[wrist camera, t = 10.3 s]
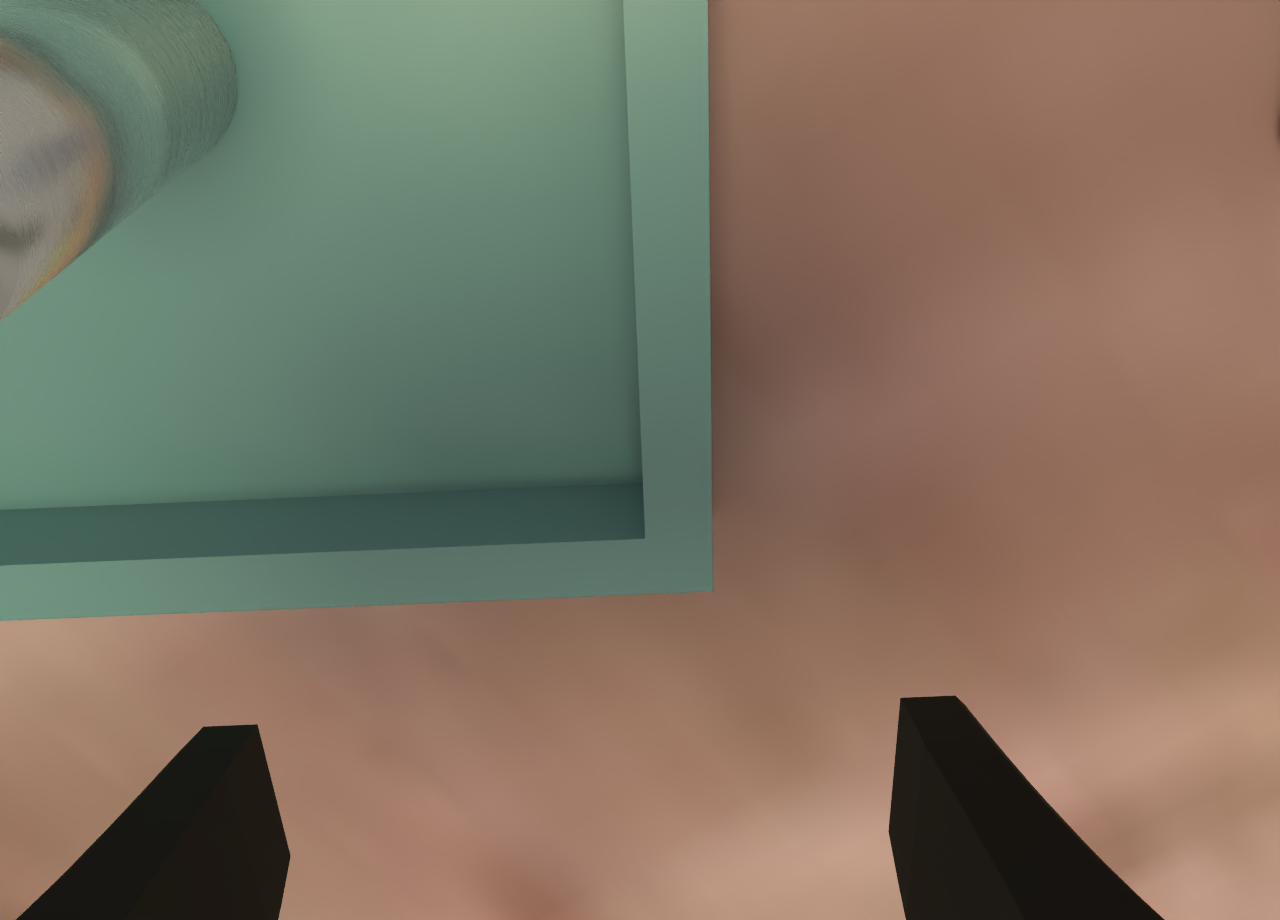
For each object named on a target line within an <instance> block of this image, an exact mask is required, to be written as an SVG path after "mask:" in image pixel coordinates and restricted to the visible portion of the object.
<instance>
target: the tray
mask: <svg viewBox="0 0 1280 920" xmlns="http://www.w3.org/2000/svg"><path fill="white" fill-rule="evenodd" d="M16 1H19V0H0V6H3V5H6V4H9V3H13V2H16ZM196 1H197V2H198V3H199V4H200V5H201V6H203V8H204V9H205V10H206V11H207V12H208V13H209V14H210V15H211V16H212V18H213V19H214V20H215V22H216V23H217V25H218V26H219V27H220V29H221V31H222V32H223V34H224V36H225V38H226V39H227V42H228V44H229V46H230V49H231V51H232V54H233V57H234V61H235V64H236V70H237V75H238V99H237V105H236V109H235V113H234V116H233V118H232V121H231V123H230V125H229V127H228V129H227V130H226V132H225V134H224V135H223V136H222V138H221V139H220V140H219V141H218V142H217V143H216V144H215V145H214V146H213V147H212V148H211V149H210V150H208V151H207V152H206V153H205V154H204V155H202V156H201V157H200V158H199V159H198V160H196V161H195V162H194V163H193V164H191V165H190V166H189V167H188V168H187V169H185V170H184V171H183V172H182V173H180V174H179V175H178V176H177V177H176V178H174V179H173V180H172V181H171V182H170V183H168V184H167V185H166V186H165V187H163V188H162V189H161V190H160V191H159V192H157V193H156V194H155V195H154V196H153V197H151V198H150V199H149V200H148V201H146V202H145V203H144V204H143V205H142V206H140V207H139V208H138V209H137V210H136V211H134V212H133V213H132V214H131V215H129V216H128V217H127V218H126V219H125V220H123V221H122V222H121V223H120V224H118V225H117V226H116V227H115V228H114V229H112V230H111V231H110V232H109V233H108V234H106V235H105V236H104V237H103V238H101V239H100V240H99V241H98V242H97V243H95V244H94V245H93V246H92V247H91V248H89V249H88V250H87V251H86V252H84V253H83V254H82V255H81V256H80V257H78V258H77V259H76V260H75V261H73V262H72V263H71V264H70V265H69V266H67V267H66V268H65V269H64V270H63V271H61V272H60V273H59V274H58V275H56V276H55V277H54V278H53V279H52V280H50V281H49V282H48V283H47V284H46V285H44V286H43V287H42V288H41V289H39V290H38V291H37V292H36V293H35V294H33V295H32V296H31V297H30V298H28V299H27V300H26V301H25V302H24V303H22V304H21V305H20V306H19V307H18V308H16V309H15V310H14V311H13V312H11V313H10V314H9V315H8V316H7V317H5V318H4V319H3V320H2V321H1V322H0V621H10V620H34V619H58V618H82V617H106V616H130V615H155V614H179V613H203V612H227V611H251V610H275V609H299V608H324V607H348V606H372V605H396V604H420V603H444V602H468V601H493V600H517V599H541V598H565V597H589V596H613V595H638V594H662V593H686V592H710V591H713V552H712V436H711V321H710V205H709V89H708V0H196Z"/></svg>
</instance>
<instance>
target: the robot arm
mask: <svg viewBox="0 0 1280 920" xmlns="http://www.w3.org/2000/svg"><path fill="white" fill-rule="evenodd" d="M889 836H890V841H891V846H892V852H893V857H894V862H895V867H896V873H897V878H898V883H899V888H900V893H901V898H902V902H903V907H904V912H905V917H906V920H1164V919H1163V918H1162V917H1161V916H1160V915H1159V914H1158V913H1156V912H1155V911H1154V910H1153V909H1152V908H1151V907H1150V906H1149V905H1148V904H1147V903H1146V902H1145V901H1143V900H1142V899H1141V898H1140V897H1139V896H1138V895H1137V894H1136V893H1135V892H1134V891H1133V890H1132V889H1131V888H1130V887H1129V886H1128V885H1127V884H1126V883H1125V882H1124V881H1123V880H1122V879H1121V878H1120V877H1119V876H1118V875H1117V874H1115V873H1114V872H1113V871H1112V870H1111V869H1110V868H1109V867H1108V866H1107V865H1106V864H1105V863H1104V862H1103V861H1102V860H1101V859H1100V858H1099V857H1098V856H1097V855H1096V854H1095V853H1094V852H1093V850H1092V849H1091V848H1090V847H1089V846H1088V845H1087V844H1086V843H1085V842H1084V841H1083V840H1082V839H1081V838H1080V837H1079V836H1078V835H1077V834H1076V833H1075V832H1074V831H1073V829H1072V828H1071V827H1070V826H1069V825H1068V824H1067V823H1066V822H1065V821H1064V820H1063V819H1062V818H1061V817H1060V816H1059V814H1058V813H1057V812H1056V811H1055V810H1054V809H1053V808H1052V807H1051V806H1050V805H1049V804H1048V803H1047V802H1046V800H1045V799H1044V798H1043V797H1042V796H1041V795H1040V794H1039V793H1038V791H1037V790H1036V789H1035V788H1034V787H1033V786H1032V785H1031V784H1030V782H1029V781H1028V780H1027V779H1026V778H1025V777H1024V776H1023V774H1022V773H1021V772H1020V771H1019V770H1018V769H1017V767H1016V766H1015V765H1014V764H1013V763H1012V762H1011V760H1010V759H1009V758H1008V757H1007V756H1006V755H1005V753H1004V752H1003V751H1002V750H1001V749H1000V747H999V746H998V745H997V744H996V743H995V741H994V740H993V739H992V738H991V737H990V735H989V734H988V733H987V732H986V730H985V729H984V728H983V727H982V726H981V724H980V723H979V722H978V721H977V719H976V718H975V717H974V716H973V714H972V713H971V712H970V711H969V710H968V708H967V707H966V706H965V705H964V703H962V702H961V701H960V700H959V699H958V698H957V697H956V696H937V697H912V698H901V699H900V710H899V721H898V733H897V744H896V755H895V766H894V777H893V789H892V800H891V811H890V822H889ZM289 861H290V852H289V848H288V844H287V840H286V836H285V832H284V828H283V824H282V820H281V816H280V812H279V809H278V805H277V801H276V797H275V793H274V789H273V785H272V781H271V777H270V773H269V769H268V765H267V761H266V757H265V753H264V749H263V745H262V741H261V737H260V733H259V729H258V725H235V726H211V727H203V728H202V729H201V730H200V731H199V732H198V733H197V734H196V735H195V736H194V737H193V738H192V739H191V740H190V741H189V742H188V743H187V744H186V745H185V746H184V747H183V748H182V749H181V751H180V752H179V753H178V754H177V755H176V756H175V757H174V758H173V759H172V760H171V761H170V762H169V763H168V764H167V766H166V767H165V768H164V769H163V770H162V771H161V772H160V773H159V774H158V775H157V776H156V777H155V778H154V780H153V781H152V782H151V783H150V784H149V785H148V786H147V787H146V788H145V789H144V790H143V791H142V793H141V794H140V795H139V796H138V797H137V798H136V799H135V800H134V801H133V802H132V803H131V804H130V805H129V806H128V808H127V809H126V810H125V811H124V812H123V813H122V814H121V815H120V816H119V817H118V818H117V819H116V820H115V821H114V823H113V824H112V825H111V826H110V827H109V828H108V829H107V830H106V831H105V832H104V833H103V834H102V835H101V836H100V837H99V838H98V839H97V840H96V841H95V842H94V843H93V844H92V845H91V846H90V847H89V848H88V849H87V850H86V851H85V852H84V854H83V855H82V856H81V857H80V858H79V859H78V860H77V861H76V862H75V863H74V864H73V865H72V866H71V867H70V868H69V869H68V870H67V871H66V872H65V873H64V874H63V875H62V876H61V877H60V878H59V879H58V880H57V881H56V882H55V883H54V884H53V885H52V886H51V887H50V888H49V889H48V890H47V891H46V892H45V893H44V894H42V895H41V896H40V897H39V898H38V899H37V900H36V901H35V902H34V903H33V904H32V905H31V906H30V907H29V908H28V909H27V910H26V911H25V912H24V913H23V914H22V915H20V916H19V917H18V918H17V919H16V920H278V918H279V913H280V908H281V904H282V898H283V893H284V888H285V882H286V877H287V872H288V866H289Z"/></svg>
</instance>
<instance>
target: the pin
mask: <svg viewBox="0 0 1280 920" xmlns="http://www.w3.org/2000/svg"><path fill="white" fill-rule="evenodd" d="M237 99H238V75H237V70H236V64H235V61H234V57H233V54H232V51H231V49H230V46H229V44H228V42H227V39H226V38H225V36H224V34H223V32H222V31H221V29H220V27H219V26H218V25H217V23H216V22H215V20H214V19H213V18H212V16H211V15H210V14H209V13H208V12H207V11H206V10H205V9H204V8H203V6H201V5H200V4H199V3H198V2H197V1H196V0H19V1H16V2H13V3H9V4H6V5H3V6H0V322H1V321H2V320H3V319H4V318H5V317H7V316H8V315H9V314H10V313H11V312H13V311H14V310H15V309H16V308H18V307H19V306H20V305H21V304H22V303H24V302H25V301H26V300H27V299H28V298H30V297H31V296H32V295H33V294H35V293H36V292H37V291H38V290H39V289H41V288H42V287H43V286H44V285H46V284H47V283H48V282H49V281H50V280H52V279H53V278H54V277H55V276H56V275H58V274H59V273H60V272H61V271H63V270H64V269H65V268H66V267H67V266H69V265H70V264H71V263H72V262H73V261H75V260H76V259H77V258H78V257H80V256H81V255H82V254H83V253H84V252H86V251H87V250H88V249H89V248H91V247H92V246H93V245H94V244H95V243H97V242H98V241H99V240H100V239H101V238H103V237H104V236H105V235H106V234H108V233H109V232H110V231H111V230H112V229H114V228H115V227H116V226H117V225H118V224H120V223H121V222H122V221H123V220H125V219H126V218H127V217H128V216H129V215H131V214H132V213H133V212H134V211H136V210H137V209H138V208H139V207H140V206H142V205H143V204H144V203H145V202H146V201H148V200H149V199H150V198H151V197H153V196H154V195H155V194H156V193H157V192H159V191H160V190H161V189H162V188H163V187H165V186H166V185H167V184H168V183H170V182H171V181H172V180H173V179H174V178H176V177H177V176H178V175H179V174H180V173H182V172H183V171H184V170H185V169H187V168H188V167H189V166H190V165H191V164H193V163H194V162H195V161H196V160H198V159H199V158H200V157H201V156H202V155H204V154H205V153H206V152H207V151H208V150H210V149H211V148H212V147H213V146H214V145H215V144H216V143H217V142H218V141H219V140H220V139H221V138H222V136H223V135H224V134H225V132H226V130H227V129H228V127H229V125H230V123H231V121H232V118H233V116H234V113H235V109H236V105H237Z"/></svg>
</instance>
